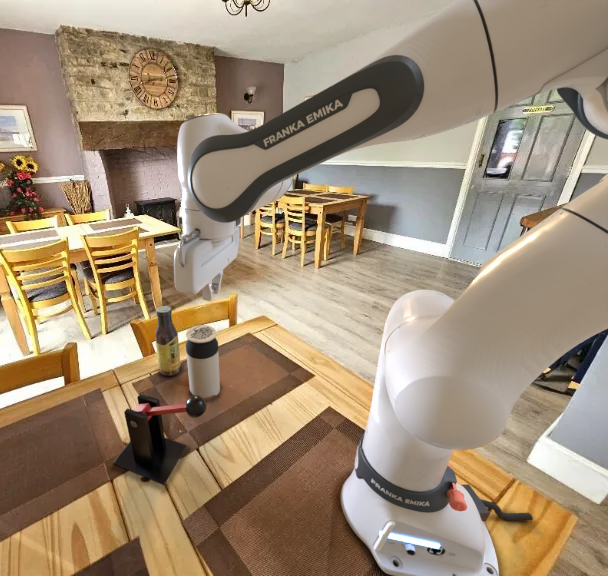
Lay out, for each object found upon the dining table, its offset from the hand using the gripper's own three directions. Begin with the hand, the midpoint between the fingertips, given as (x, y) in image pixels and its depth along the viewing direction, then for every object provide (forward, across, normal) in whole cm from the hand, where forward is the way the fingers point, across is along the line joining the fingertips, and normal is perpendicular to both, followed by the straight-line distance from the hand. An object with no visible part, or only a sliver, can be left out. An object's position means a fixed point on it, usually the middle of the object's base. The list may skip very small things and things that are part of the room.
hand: (211, 295), depth 59 cm
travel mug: (+33, +9, +7) cm, 35 cm away
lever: (+19, -13, +2) cm, 23 cm away
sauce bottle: (+33, +12, +20) cm, 41 cm away
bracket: (+33, -13, +9) cm, 37 cm away
